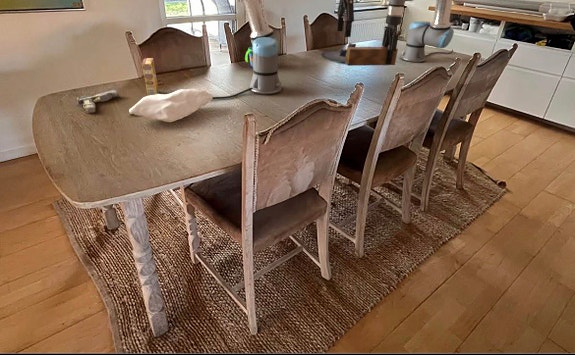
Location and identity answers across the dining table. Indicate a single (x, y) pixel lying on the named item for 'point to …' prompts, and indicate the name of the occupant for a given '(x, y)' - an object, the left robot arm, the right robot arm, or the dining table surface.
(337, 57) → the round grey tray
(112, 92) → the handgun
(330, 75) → the dining table surface
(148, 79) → the candy box
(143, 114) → the crumpled cloth
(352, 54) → the bar
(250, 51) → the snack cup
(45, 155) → the dining table surface
